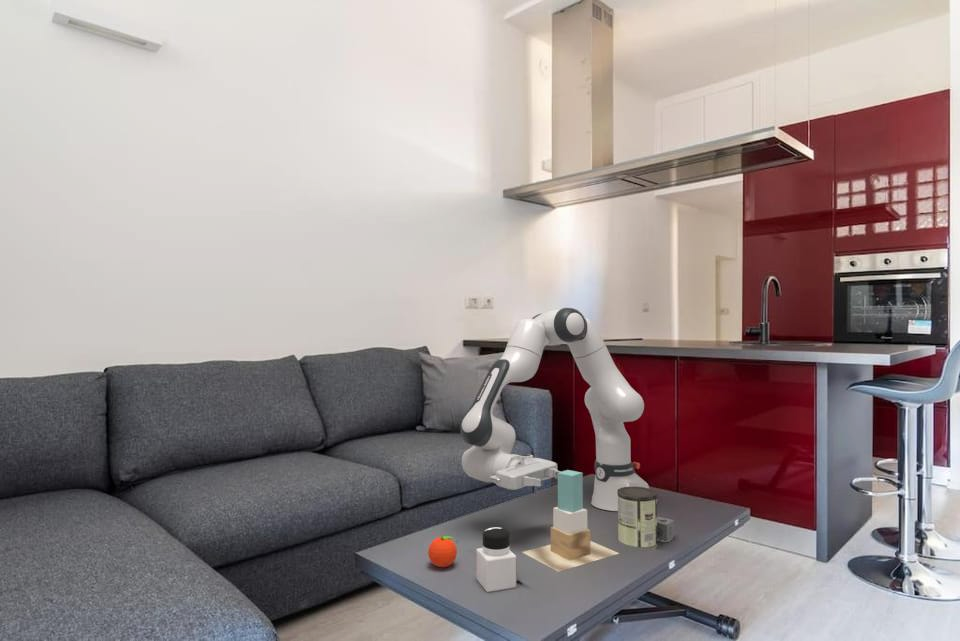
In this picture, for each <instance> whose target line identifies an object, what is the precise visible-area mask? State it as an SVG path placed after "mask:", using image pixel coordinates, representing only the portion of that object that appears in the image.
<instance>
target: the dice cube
mask: <svg viewBox="0 0 960 641" xmlns="http://www.w3.org/2000/svg"><path fill="white" fill-rule="evenodd" d="M673 536H674V537H675V520H674V519H672V518H671V519H670V518H665V517H661V516H657V539H659V540H664V541H668V540H669V539H671V538H672V537H673Z"/></svg>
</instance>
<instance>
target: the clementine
mask: <svg viewBox="0 0 960 641" xmlns="http://www.w3.org/2000/svg"><path fill="white" fill-rule="evenodd" d="M452 539H455V540H456V537H453V536H451V535H450V536H449V535H445V536H438V537H436V538H434V539H433V540H432V541H431V543H430V544H429V546H428V550H427V551H428V552H427V554H428V558H429V560H430V562H431V563H432V564H433V565H434V566H436V567H438V568H447V567H448V566H450V565H451V564H453V563H454V562H455V560H456V558H457V552H458V550H457V545H456V543H459V542H458V540H456V543H455V542H454V541H453V540H452Z"/></svg>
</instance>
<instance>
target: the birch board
mask: <svg viewBox="0 0 960 641" xmlns="http://www.w3.org/2000/svg"><path fill="white" fill-rule="evenodd" d="M521 553H522V554H524V555H526V556H528V557H530V558H532V559H533V560H535V561H537V562H539V563H541V564H543V565H544V566H546V567H548V568H550V569H552V570H554V571H556V572H558V573H560V572H562V571H566V570H570V569H572V568H573V569H574V568H576V567H579V566H582V565H586V564H589V563H593V562H595V561H600V560H602V559H606V558H609V557H613V556H615V555H619V554H620V553H619V552H617V551H616V550H615V551H614V550H613V549H610V548H607V547H605V546H604V545H601V544H600V543H596V542H595V541H592V540H590V555H586V556H583V557H580V558H576V559H573V560H567V559H565V558H563V557H561V556H559V555H557V554H555V553H553V552H551V544H547V545H543V546H540V547H536V548H532V549H529V550H524V551H521Z"/></svg>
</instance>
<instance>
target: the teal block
mask: <svg viewBox="0 0 960 641" xmlns="http://www.w3.org/2000/svg"><path fill="white" fill-rule="evenodd" d="M583 474H584V473H583V472H581V471H580V472H579V471H575V470H571V469H570V470H569V469H566V470H562V471H561V472H559V473H558V479H557V507H558V509H560V510H564V511H568V512H572V513H574V512H576V511H578V510H581V509H583V508H584V504H583V502H584V500H583V499H584V492H583V490H584V488H583V485H584V482H583V481H584V480H583V478H584V476H583Z"/></svg>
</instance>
